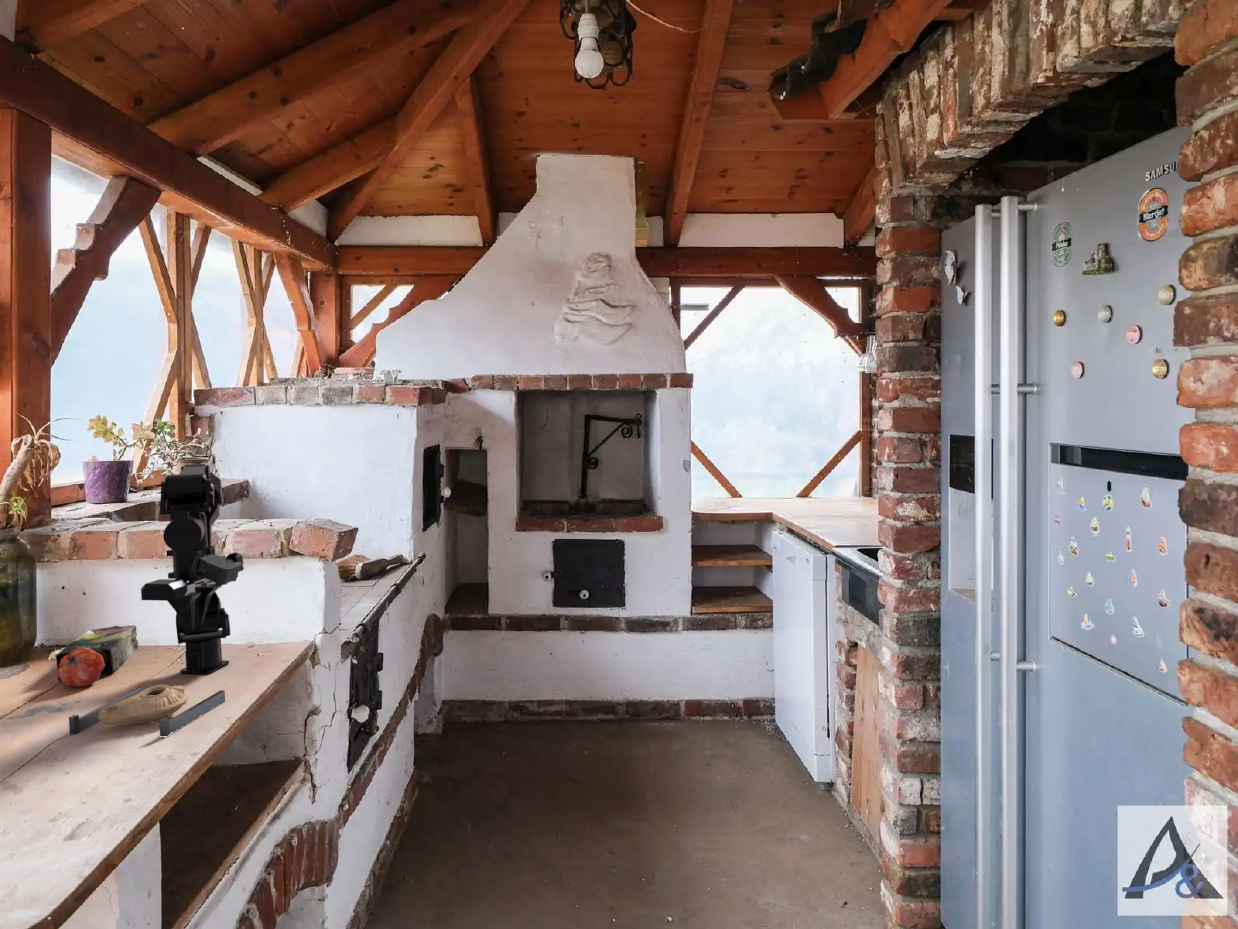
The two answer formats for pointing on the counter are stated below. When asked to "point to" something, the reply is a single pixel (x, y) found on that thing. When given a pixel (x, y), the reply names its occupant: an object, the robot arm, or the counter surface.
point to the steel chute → (165, 724)
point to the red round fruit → (81, 667)
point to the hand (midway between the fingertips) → (195, 627)
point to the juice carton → (106, 645)
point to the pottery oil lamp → (145, 706)
